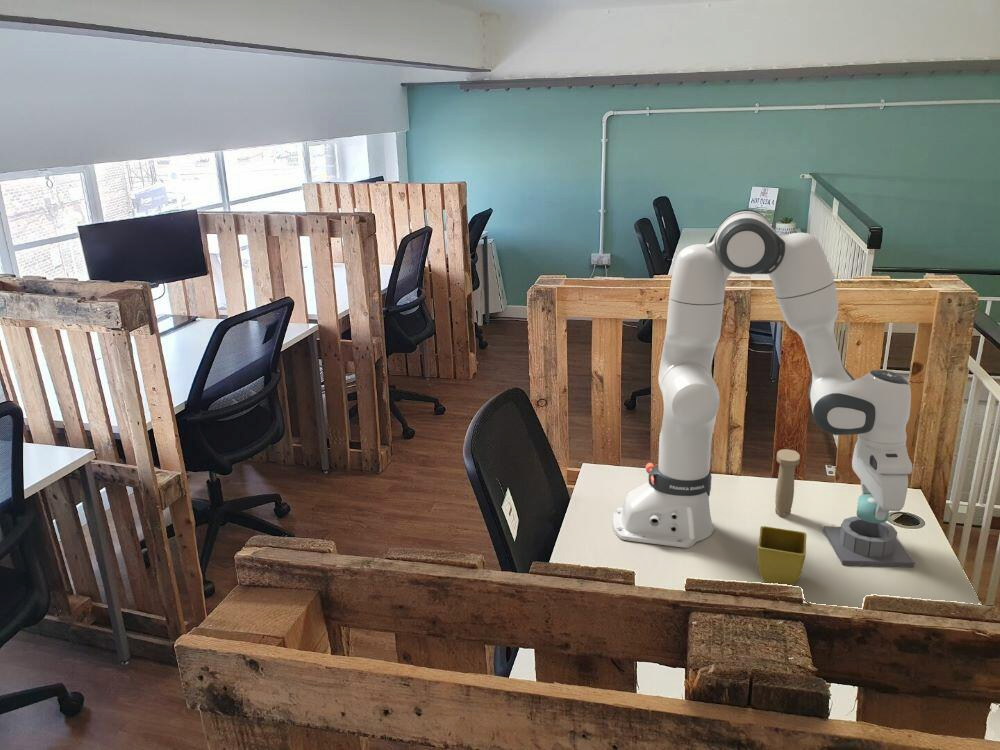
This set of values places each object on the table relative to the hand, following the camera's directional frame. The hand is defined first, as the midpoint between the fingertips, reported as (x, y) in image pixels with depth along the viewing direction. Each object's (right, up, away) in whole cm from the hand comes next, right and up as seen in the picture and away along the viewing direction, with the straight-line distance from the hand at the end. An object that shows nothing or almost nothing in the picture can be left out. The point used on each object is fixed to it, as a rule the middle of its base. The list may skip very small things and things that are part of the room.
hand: (872, 509), depth 161 cm
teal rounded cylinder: (0, -2, +1) cm, 2 cm away
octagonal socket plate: (0, -9, +3) cm, 9 cm away
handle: (-12, -4, +18) cm, 22 cm away
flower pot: (-22, -13, -7) cm, 27 cm away
